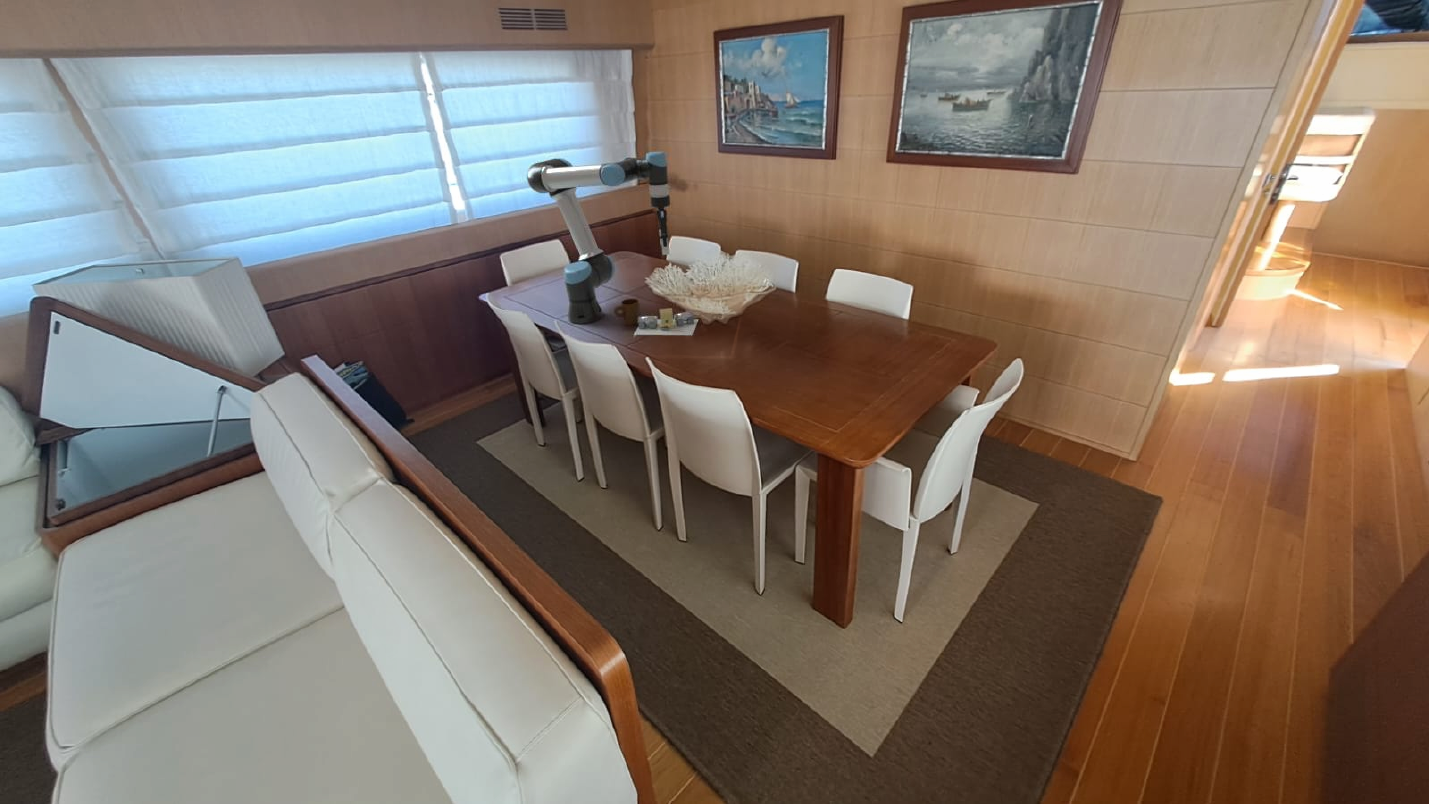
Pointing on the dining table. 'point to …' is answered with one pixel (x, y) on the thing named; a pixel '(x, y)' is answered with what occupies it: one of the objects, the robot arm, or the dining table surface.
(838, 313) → the dining table surface
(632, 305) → the mug
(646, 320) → the grey mechanical block
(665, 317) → the coupler
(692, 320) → the grey metal block
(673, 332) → the rig board
